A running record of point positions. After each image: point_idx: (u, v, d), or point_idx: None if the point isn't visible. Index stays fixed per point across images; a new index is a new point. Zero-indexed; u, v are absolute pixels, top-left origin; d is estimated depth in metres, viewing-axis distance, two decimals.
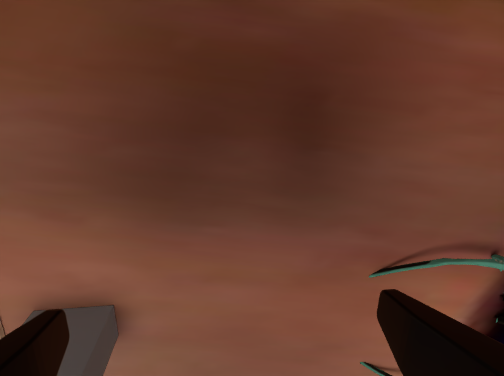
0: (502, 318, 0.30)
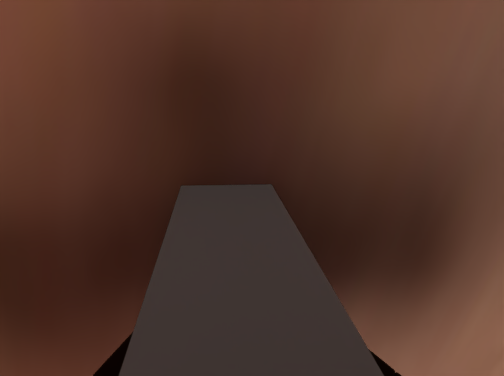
0: None
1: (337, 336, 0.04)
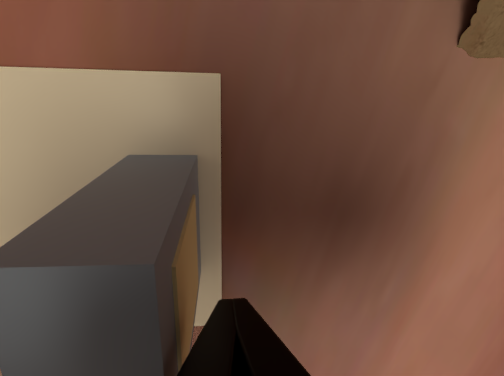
0: None
1: (160, 214, 0.08)
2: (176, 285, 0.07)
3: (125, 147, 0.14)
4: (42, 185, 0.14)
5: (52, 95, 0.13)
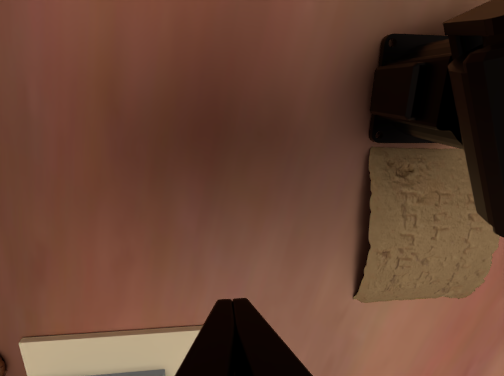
0: None
1: None
2: None
3: (164, 365, 0.24)
4: None
5: (125, 346, 0.23)
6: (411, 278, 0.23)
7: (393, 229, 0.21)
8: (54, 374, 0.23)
